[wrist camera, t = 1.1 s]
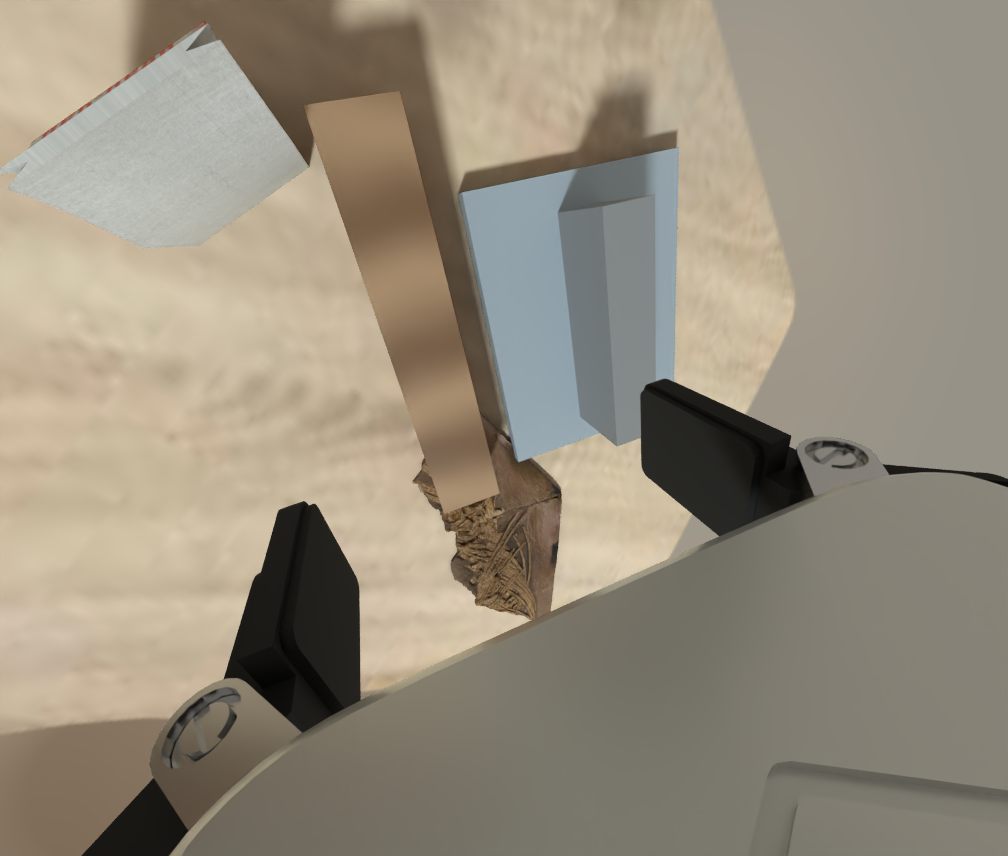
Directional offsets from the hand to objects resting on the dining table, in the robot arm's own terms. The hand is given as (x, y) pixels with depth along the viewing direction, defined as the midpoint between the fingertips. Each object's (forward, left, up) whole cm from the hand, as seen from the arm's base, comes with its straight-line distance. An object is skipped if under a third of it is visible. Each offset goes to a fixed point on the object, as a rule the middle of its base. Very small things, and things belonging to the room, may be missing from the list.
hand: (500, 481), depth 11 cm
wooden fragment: (+18, +3, -17) cm, 25 cm away
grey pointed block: (-11, -6, -17) cm, 21 cm away
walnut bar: (-1, 0, -17) cm, 17 cm away
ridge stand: (+1, +12, -17) cm, 20 cm away
